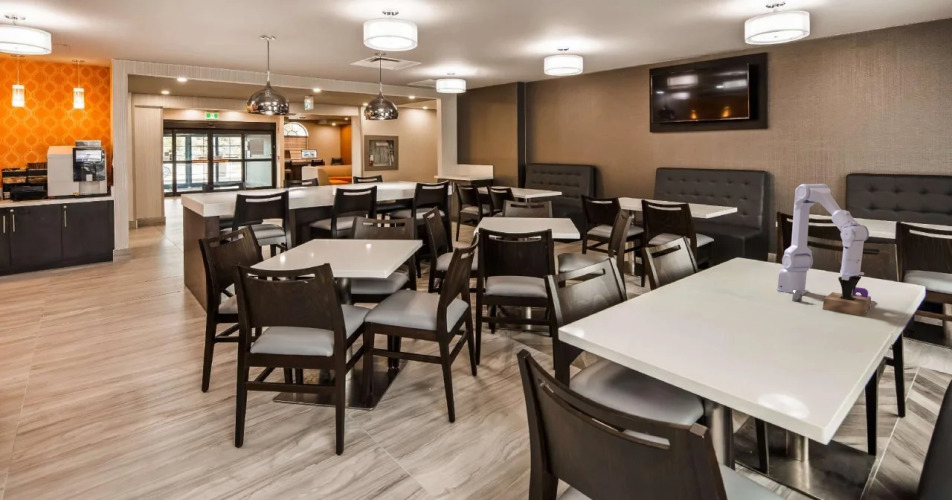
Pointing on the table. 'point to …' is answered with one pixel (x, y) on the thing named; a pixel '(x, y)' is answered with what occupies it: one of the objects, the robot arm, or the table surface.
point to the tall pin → (848, 298)
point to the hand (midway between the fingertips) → (847, 296)
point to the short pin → (797, 295)
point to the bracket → (861, 292)
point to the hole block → (847, 304)
